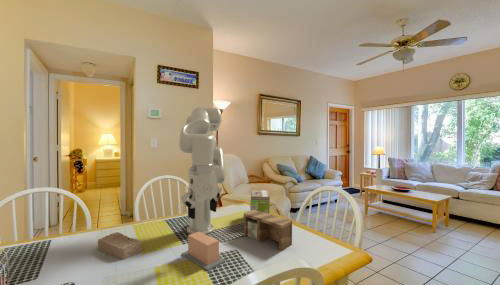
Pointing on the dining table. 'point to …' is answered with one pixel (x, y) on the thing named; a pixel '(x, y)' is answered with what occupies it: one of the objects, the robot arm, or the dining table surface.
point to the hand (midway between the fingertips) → (202, 214)
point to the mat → (200, 263)
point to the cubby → (268, 228)
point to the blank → (203, 247)
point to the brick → (119, 245)
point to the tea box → (260, 201)
